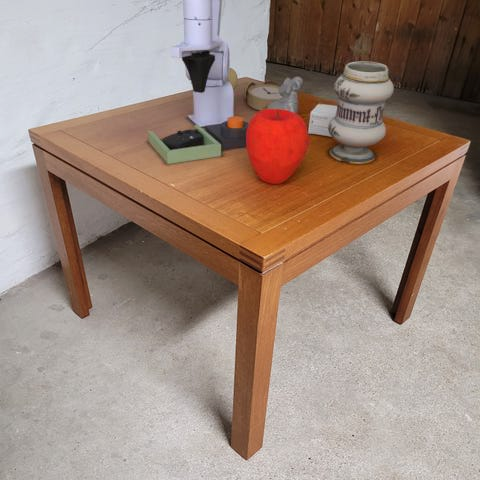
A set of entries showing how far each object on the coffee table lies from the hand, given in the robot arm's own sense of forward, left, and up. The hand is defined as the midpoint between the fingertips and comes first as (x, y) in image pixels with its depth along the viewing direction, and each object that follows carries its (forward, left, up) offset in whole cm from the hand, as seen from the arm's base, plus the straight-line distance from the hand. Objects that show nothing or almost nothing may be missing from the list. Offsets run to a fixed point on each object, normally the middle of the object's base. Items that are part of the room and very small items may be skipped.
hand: (199, 91), depth 110 cm
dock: (+5, +4, -10) cm, 12 cm away
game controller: (+5, +3, -11) cm, 12 cm away
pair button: (-7, +4, -7) cm, 11 cm away
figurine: (-23, -3, -11) cm, 25 cm away
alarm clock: (-27, -19, -11) cm, 35 cm away
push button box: (-7, +3, -10) cm, 13 cm away
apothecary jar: (-28, +21, -11) cm, 36 cm away
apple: (-6, +26, -11) cm, 28 cm away
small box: (-31, +6, -11) cm, 33 cm away
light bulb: (-15, -19, -11) cm, 27 cm away
